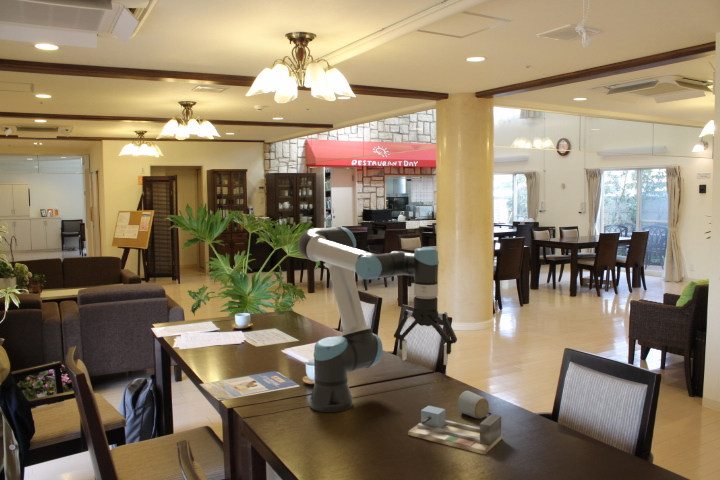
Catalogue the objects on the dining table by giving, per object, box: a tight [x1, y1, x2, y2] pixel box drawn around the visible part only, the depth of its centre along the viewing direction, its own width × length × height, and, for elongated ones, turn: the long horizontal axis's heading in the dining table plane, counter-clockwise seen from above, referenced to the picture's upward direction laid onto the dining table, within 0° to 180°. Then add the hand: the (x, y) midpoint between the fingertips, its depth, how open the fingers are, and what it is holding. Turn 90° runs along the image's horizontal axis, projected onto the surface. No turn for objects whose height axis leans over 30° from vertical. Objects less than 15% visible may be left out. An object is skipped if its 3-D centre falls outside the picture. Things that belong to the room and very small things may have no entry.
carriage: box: [420, 405, 447, 428], centre depth 180 cm, size 6×9×5 cm, turn 145°
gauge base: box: [407, 413, 503, 455], centre depth 176 cm, size 25×13×7 cm, turn 55°
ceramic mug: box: [457, 390, 491, 420], centre depth 193 cm, size 11×8×8 cm
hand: (424, 361), depth 186 cm, fingers open, 13 cm apart
